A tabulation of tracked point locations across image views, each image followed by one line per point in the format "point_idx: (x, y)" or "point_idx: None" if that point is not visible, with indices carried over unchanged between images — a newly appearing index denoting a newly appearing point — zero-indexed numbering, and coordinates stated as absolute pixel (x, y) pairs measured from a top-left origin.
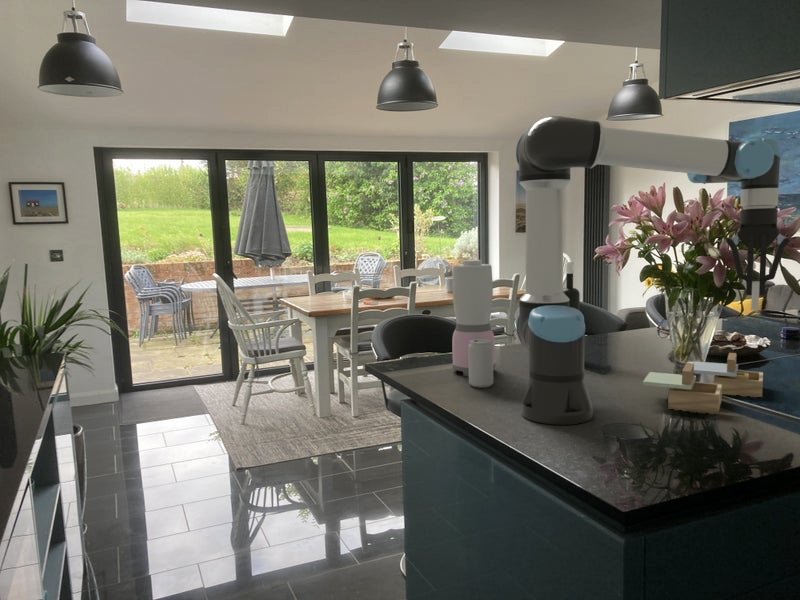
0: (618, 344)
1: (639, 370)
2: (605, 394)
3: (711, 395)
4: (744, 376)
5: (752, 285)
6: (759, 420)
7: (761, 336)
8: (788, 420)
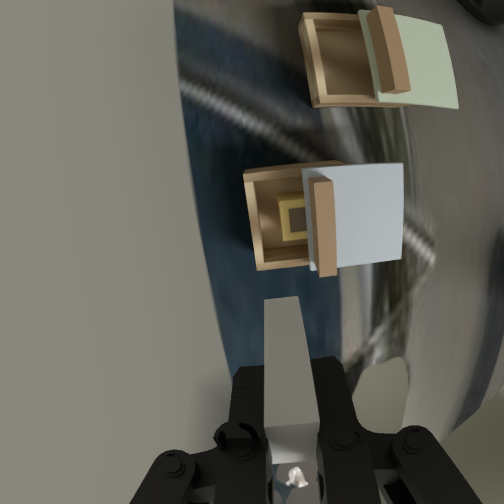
0: (453, 405)
1: (457, 289)
2: (479, 97)
3: (317, 13)
4: (286, 201)
5: (313, 401)
6: (227, 30)
7: (291, 486)
8: (184, 57)
